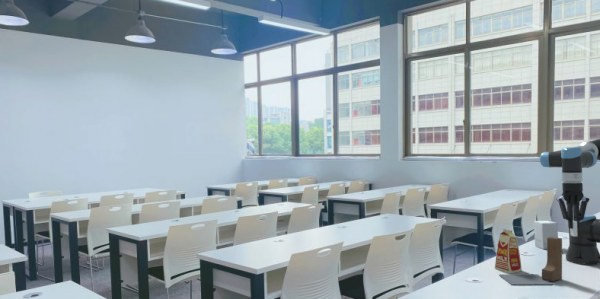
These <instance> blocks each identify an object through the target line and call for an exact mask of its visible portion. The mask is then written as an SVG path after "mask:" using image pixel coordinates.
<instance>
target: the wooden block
mask: <svg viewBox="0 0 600 299" xmlns="http://www.w3.org/2000/svg"><path fill="white" fill-rule="evenodd" d="M541 277H542V279H543V280H547V281H549V282H554V281H555V282H556V281H560V280H563V238H561V237H558V238H555V237H549V238H547V249H546V264H545V266H544V267H543V268H542V269H541Z"/></svg>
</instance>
